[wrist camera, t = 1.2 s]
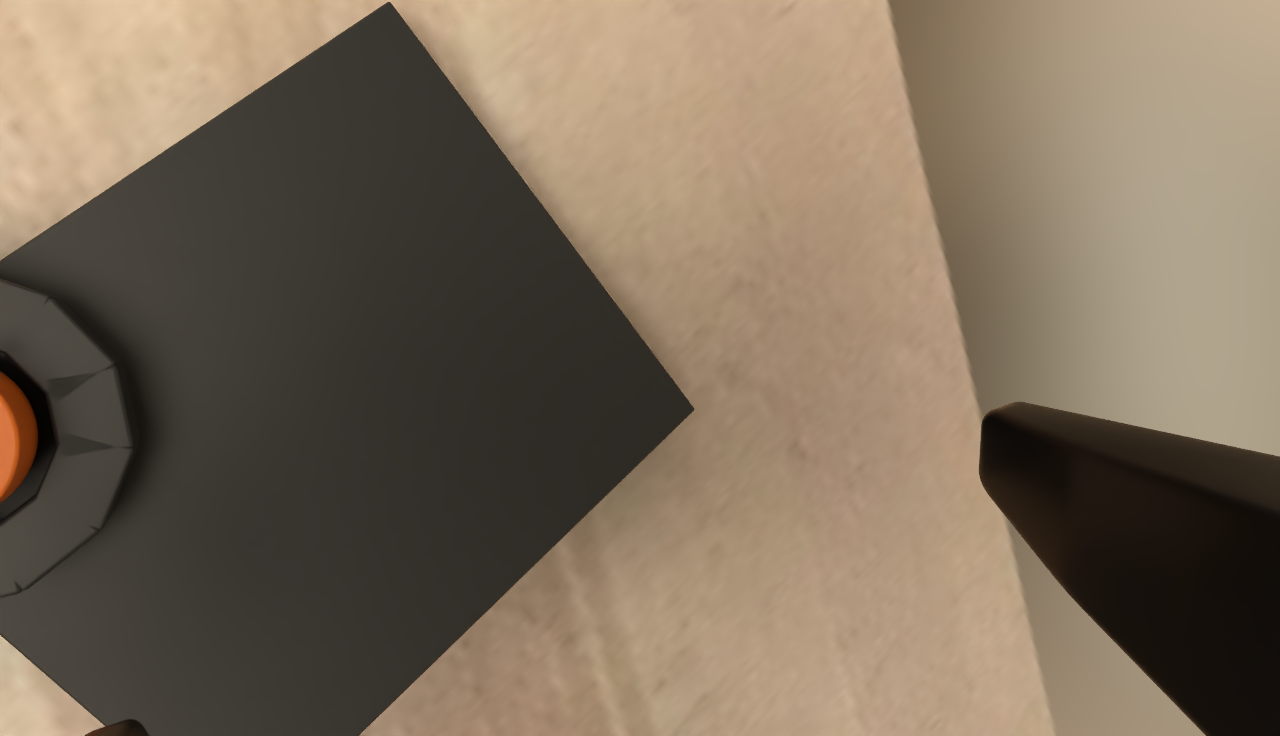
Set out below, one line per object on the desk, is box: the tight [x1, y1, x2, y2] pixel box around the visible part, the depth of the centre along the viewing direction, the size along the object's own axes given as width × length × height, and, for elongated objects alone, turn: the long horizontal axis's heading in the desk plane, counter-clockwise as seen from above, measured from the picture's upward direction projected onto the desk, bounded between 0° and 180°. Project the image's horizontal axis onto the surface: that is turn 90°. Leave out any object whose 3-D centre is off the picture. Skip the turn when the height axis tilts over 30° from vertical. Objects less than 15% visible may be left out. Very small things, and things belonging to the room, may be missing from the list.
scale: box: [0, 2, 694, 736], centre depth 20 cm, size 15×13×4 cm
